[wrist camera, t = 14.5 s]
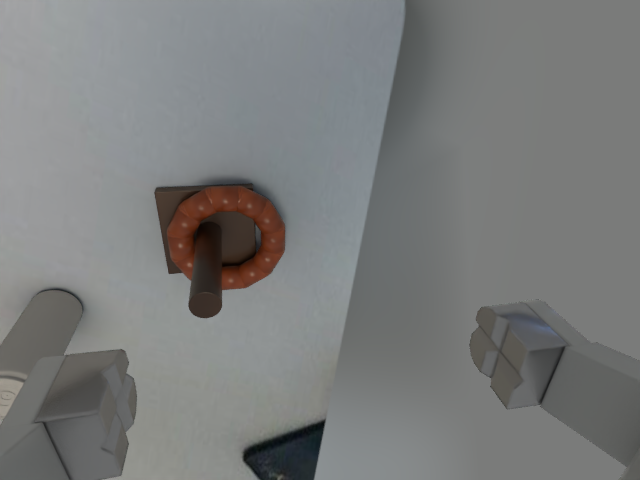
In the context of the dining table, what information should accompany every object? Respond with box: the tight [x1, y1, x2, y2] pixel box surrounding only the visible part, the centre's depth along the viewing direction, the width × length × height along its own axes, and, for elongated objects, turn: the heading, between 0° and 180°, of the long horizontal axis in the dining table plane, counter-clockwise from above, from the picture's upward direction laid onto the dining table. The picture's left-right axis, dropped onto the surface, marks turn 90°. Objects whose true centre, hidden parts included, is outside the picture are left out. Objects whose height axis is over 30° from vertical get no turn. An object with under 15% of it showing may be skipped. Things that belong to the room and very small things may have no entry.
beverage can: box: [0, 290, 83, 420], centre depth 36 cm, size 5×5×12 cm
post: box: [155, 184, 256, 318], centre depth 35 cm, size 9×9×13 cm
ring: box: [167, 186, 285, 290], centre depth 39 cm, size 11×11×2 cm
